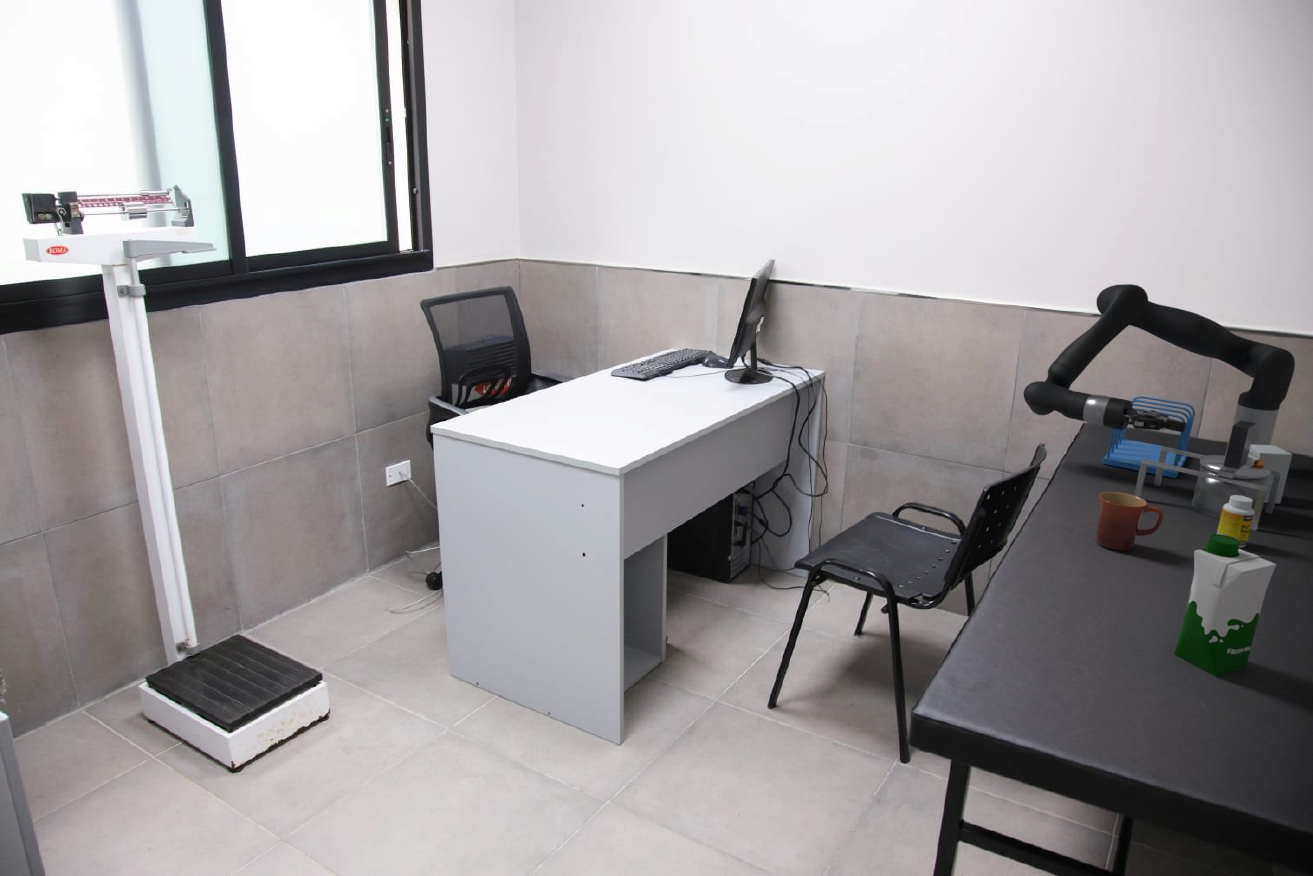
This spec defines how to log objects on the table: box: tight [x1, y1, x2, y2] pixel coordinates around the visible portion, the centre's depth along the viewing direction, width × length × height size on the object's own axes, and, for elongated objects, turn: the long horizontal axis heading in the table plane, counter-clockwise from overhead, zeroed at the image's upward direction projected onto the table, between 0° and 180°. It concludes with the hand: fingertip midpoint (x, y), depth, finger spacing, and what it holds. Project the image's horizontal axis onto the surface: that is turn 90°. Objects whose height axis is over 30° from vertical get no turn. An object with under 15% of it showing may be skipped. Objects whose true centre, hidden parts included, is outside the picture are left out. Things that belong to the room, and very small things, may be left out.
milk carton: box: [1173, 533, 1277, 677], centre depth 134 cm, size 9×9×20 cm
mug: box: [1095, 491, 1164, 552], centre depth 178 cm, size 12×9×10 cm
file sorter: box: [1102, 395, 1196, 479], centre depth 236 cm, size 25×17×15 cm
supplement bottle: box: [1216, 495, 1255, 549], centre depth 182 cm, size 6×6×10 cm
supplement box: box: [1248, 444, 1293, 504], centre depth 210 cm, size 7×7×13 cm
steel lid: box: [1199, 420, 1271, 479], centre depth 197 cm, size 14×16×11 cm
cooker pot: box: [1134, 446, 1282, 532], centre depth 203 cm, size 25×16×10 cm, turn 45°
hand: (1185, 427), depth 204 cm, fingers closed
